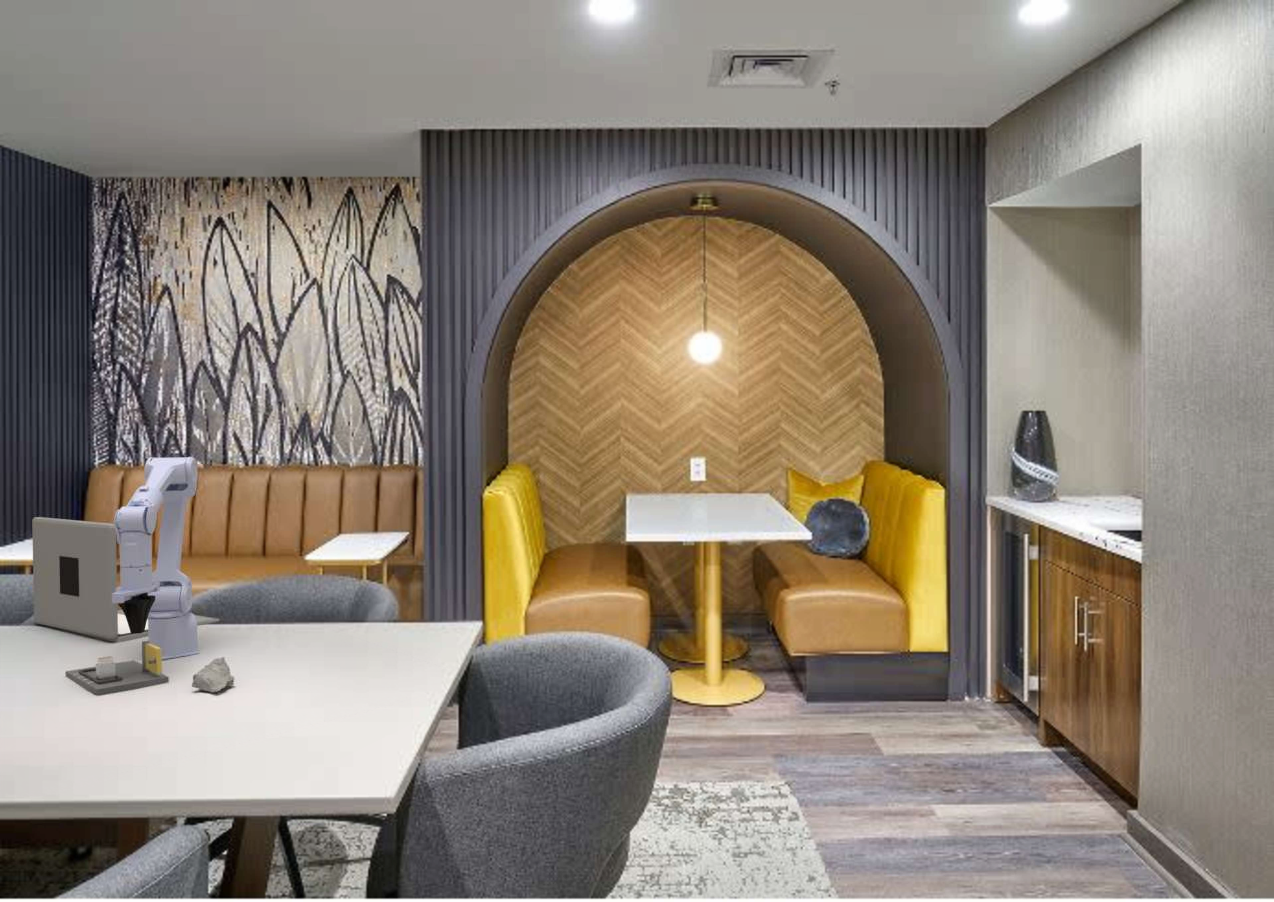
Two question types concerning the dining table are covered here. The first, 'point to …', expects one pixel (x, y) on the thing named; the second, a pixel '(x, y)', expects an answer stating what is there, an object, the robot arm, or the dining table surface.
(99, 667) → the fader knob
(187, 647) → the robot arm
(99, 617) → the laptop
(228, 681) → the stone
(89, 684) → the console
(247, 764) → the dining table surface
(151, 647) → the door
